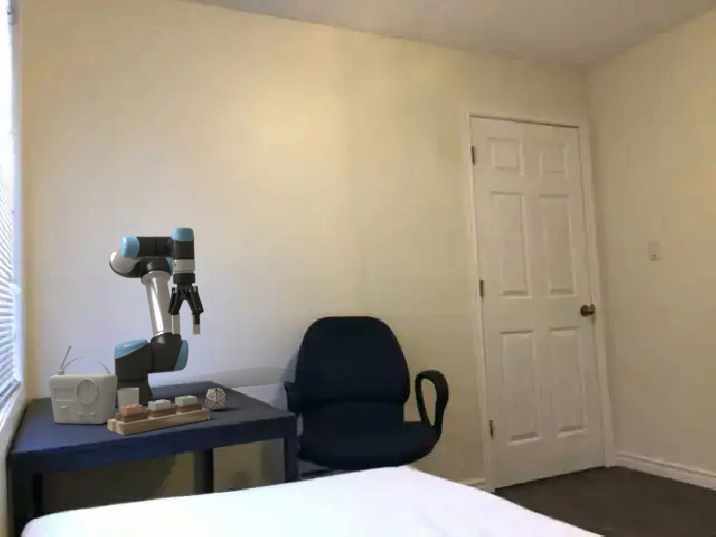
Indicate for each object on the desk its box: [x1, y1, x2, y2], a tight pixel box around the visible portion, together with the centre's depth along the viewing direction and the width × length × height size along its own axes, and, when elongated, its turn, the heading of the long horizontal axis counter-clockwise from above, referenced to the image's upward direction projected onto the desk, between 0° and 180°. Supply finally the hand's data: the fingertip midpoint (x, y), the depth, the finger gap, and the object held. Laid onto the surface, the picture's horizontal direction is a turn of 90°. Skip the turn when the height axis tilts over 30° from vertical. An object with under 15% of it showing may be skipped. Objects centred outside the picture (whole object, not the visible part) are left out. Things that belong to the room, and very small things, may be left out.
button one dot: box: [174, 395, 198, 406], centre depth 209 cm, size 5×5×3 cm
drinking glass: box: [117, 388, 139, 413], centre depth 211 cm, size 7×7×10 cm
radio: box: [48, 344, 117, 425], centre depth 211 cm, size 22×8×25 cm, turn 75°
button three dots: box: [120, 404, 144, 415], centre depth 197 cm, size 5×5×3 cm
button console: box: [106, 401, 211, 436], centre depth 203 cm, size 12×28×5 cm, turn 132°
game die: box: [201, 385, 229, 411], centre depth 223 cm, size 9×8×10 cm
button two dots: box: [147, 399, 172, 410], centre depth 203 cm, size 5×5×3 cm
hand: (186, 334), depth 226 cm, fingers open, 13 cm apart
